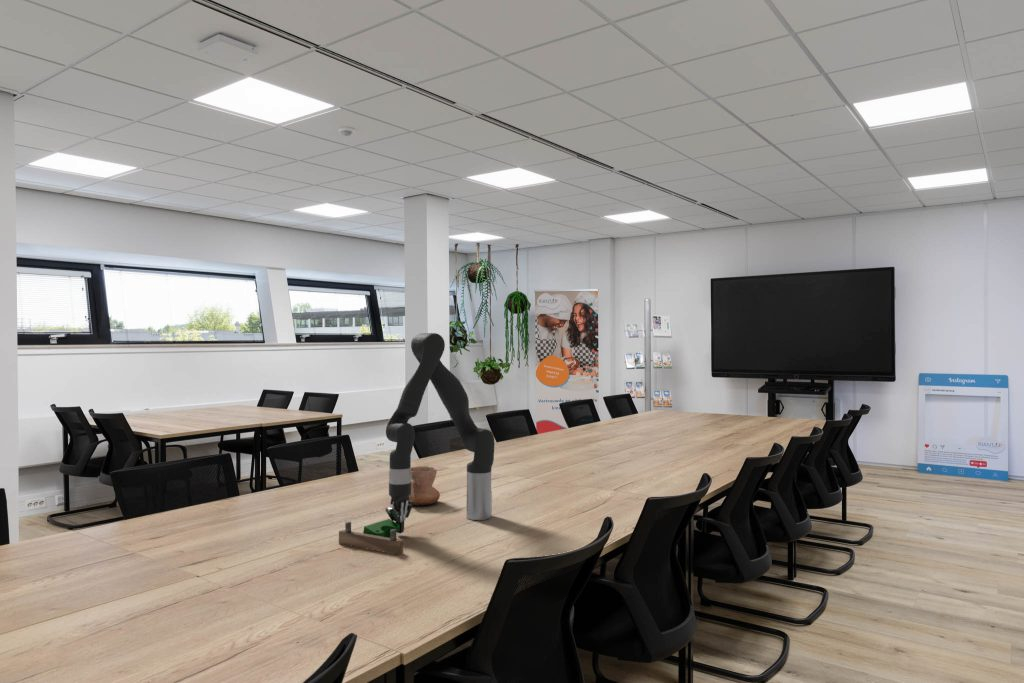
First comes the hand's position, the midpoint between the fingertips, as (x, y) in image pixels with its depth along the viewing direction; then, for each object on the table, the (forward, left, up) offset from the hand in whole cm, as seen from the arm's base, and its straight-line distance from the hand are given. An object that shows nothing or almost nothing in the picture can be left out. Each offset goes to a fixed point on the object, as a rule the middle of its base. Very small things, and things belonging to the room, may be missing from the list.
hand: (400, 532), depth 217 cm
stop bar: (+16, 0, -1) cm, 16 cm away
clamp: (+8, -1, -1) cm, 9 cm away
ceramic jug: (-39, -19, -1) cm, 44 cm away
